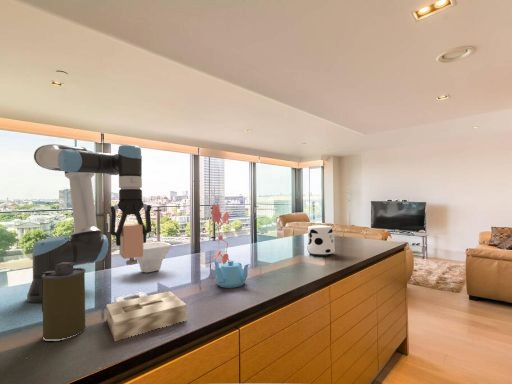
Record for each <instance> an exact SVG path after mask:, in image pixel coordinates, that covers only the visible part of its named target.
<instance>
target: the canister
mask: <svg viewBox="0 0 512 384" xmlns="http://www.w3.org/2000/svg"><path fill="white" fill-rule="evenodd" d="M73 265H75V262H62V263H60V264H57V265H56V266H55V271H47V272H44V273H42V302H41V312H42V336H43V337H44V338H45V339H62V338H67V337H70V336H73V335H76V334H78V333H80V332H82V331H83V330H85V328H86V329H87V325H86V289H85V288H86V283H85V282H86V280H85V279H86V278H85V277H86V276H85V275H86V274H85V273H86V271H87V270H86V269H85V268H83V267H74V266H73ZM85 331H86V330H85ZM82 333H83V332H82Z"/></svg>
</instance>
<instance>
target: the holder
mask: <svg viewBox="0 0 512 384" xmlns="http://www.w3.org/2000/svg"><path fill="white" fill-rule="evenodd" d="M145 296H148V294H147V293H146V292H145V291H139V292H135V293H134V292H133V293H130V294H126V295H125V294H124V295H120V296H116V297H114V303H117V302H122V301H126V300H131V299H136V298H140V297H145Z"/></svg>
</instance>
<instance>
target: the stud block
mask: <svg viewBox="0 0 512 384" xmlns="http://www.w3.org/2000/svg"><path fill="white" fill-rule="evenodd" d="M120 236H123V255H120V257H122V258H123V259H124V260H125V259H127V260H126V262H125V264H126V265H127V266H130V265H131V266H132V265H136V264H138V260H136V259H135V257H141V256H143V231H142V225H139V224H138V223H131V224H124V226H123V229H122V232H121V235H120ZM128 259H129V260H128Z"/></svg>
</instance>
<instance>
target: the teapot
mask: <svg viewBox="0 0 512 384" xmlns="http://www.w3.org/2000/svg"><path fill="white" fill-rule="evenodd" d="M212 261H213V262H214V273H215V283H216V284H217V285H218V286H219V287H221V288H222V289H223V288H224V289H233V288H234V289H235V288H240V287H241V286H243V285H244V284H245V283H246V281H247V279H248V274H249V273H248V267H249V266H250V265H251V263H247V264H245V265H244V267H243V264H242V263H241V262H234V260H230V261H228V260H227V262H226V263H225V264H223V263H222V264H221V266H220V265H219V262H218V260H217V259H216V260H214V258H213V259H212Z"/></svg>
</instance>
